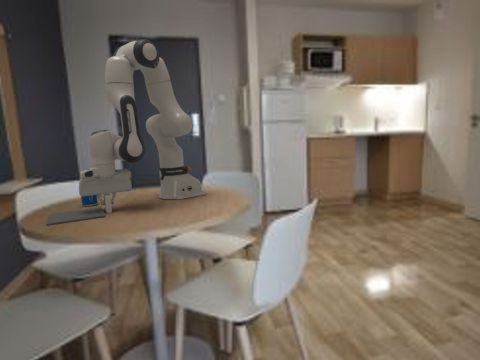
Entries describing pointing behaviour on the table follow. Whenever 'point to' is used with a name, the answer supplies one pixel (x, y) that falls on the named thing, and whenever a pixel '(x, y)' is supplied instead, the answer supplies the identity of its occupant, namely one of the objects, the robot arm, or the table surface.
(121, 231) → the table surface
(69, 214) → the mat
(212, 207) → the table surface
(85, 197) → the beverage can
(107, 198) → the tile
